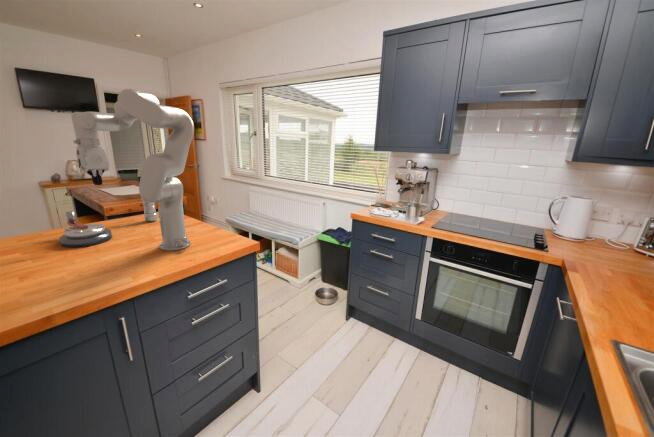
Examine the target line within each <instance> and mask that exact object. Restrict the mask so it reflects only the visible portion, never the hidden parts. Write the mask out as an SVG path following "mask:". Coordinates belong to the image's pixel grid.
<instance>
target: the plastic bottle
mask: <svg viewBox="0 0 654 437" xmlns="http://www.w3.org/2000/svg"><path fill="white" fill-rule="evenodd" d="M140 199H141V201H142V206H143V212H144V214H143V218H144V221H146V222H155V221H157V220H159V214H158V213H157V210H156V205H155V204H156V203H148V202H146V201H144V200H143V199H142V198H141V197H140Z"/></svg>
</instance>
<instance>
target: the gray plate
mask: <svg viewBox="0 0 654 437" xmlns="http://www.w3.org/2000/svg"><path fill="white" fill-rule="evenodd" d="M58 239H59V244H60V246H61V247H62V248H65V249H81V248H87V247H92V246H97V245H101V244H104V243H107V242H108V241H110V240H111V239H113V235H112V230H111V229H109V228H105V233H103V234H101V235H98V236H95V237H90V238H84V239H67V238H66V237H65V234H62V235H61V236H59V238H58Z"/></svg>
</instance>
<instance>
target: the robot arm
mask: <svg viewBox="0 0 654 437" xmlns="http://www.w3.org/2000/svg"><path fill="white" fill-rule="evenodd" d="M113 110H114V112H112V113H109V112H102V111H100V112H99V111H84V112H77V111H76V112H72V113H71V115H70V117H71V121H72V126H73V129H74V134H75V139H74V140H73V143H74V144H77V146H76V161H77V165H78V168H79V172H80V173H83V174H87V175H89V177H91V180H92V183H93V185H94V186H102V185H103V178H102V176H103V174H104V173H105V172H108V171H110V162H109V158H108V155H107V153H106V150H105V147H104V146H103V145H101V140H100V137H99V133H98V132H118V131H122V130H125V129H128V128H130V127H132V125H133V124H134V123H135V122H136V121H140V122H142V123H143V124H145V125H147V126H148V127H151V128H155V129H163V130H166V129H168V130H172V132H170V134H169V135H168V136H167V138H166V140H165V146H164V149H163V151H162V152H161V153H160V152H159V153H152V154H150V155H148V156H146V158H145V160H144V161H143V164H142V167H141V168H142V169H141V174H140V179H139V184H138V192H139V195H140V199H141V198H142V199H143V200H144V201H146V202H148V203H155V204H156V203H158V207H157V208H158V220H159V224H160V232H161V239H162V242H160V243H159V245H158V246H159V249H160V250H162V251H169V252H172V251H173V252H174V251H178V250H183V249H186V248H188V247H190V246H191V240H190V239H189V238H188V237H187V234H186V233H187V232H186V224H185V215H184V214H185V213H184V205H183V204H184V203H183V197H184V184H183V183H182V181H181V180H180V179H179V178H178V177H177V176H180V175H181V174H183V173H184V171H185V168H186V164H187V161H188V160H187V159H188V154H189V151H190V146H191V143H192V140H193V139H194V135H195V125H194V124H195V123H194V121H193V120H192V118H191V116H190V115H189V113H188V112H186V111H185V110H184V109H181V108H180V107H176V106H170V105H162V104H161V102H160V101H159V99H158V97H157V96H155V95H154V94H152V93H150V92H148V91H142V90H138V89H132V88H125V89H123V90H121V91H120V92H119V93H118V95H117V100H116V102H115V103H114V105H113ZM142 199H141V200H142Z"/></svg>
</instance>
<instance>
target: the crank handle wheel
mask: <svg viewBox="0 0 654 437" xmlns="http://www.w3.org/2000/svg"><path fill="white" fill-rule="evenodd" d="M65 215H66V220H67V227H65V228H64V231H63V233H64V234H63V235H65V237H66V238H67V239H84V238H90V237H95V236H98V235H101V234H103V233H105V229H106V226H105V225H104V224H101V223H100V224H99V223H90V224H87V223H86V224H84V223H81V222H78V221H77V218H76V213H75V210H70V211H66V212H65Z"/></svg>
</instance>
